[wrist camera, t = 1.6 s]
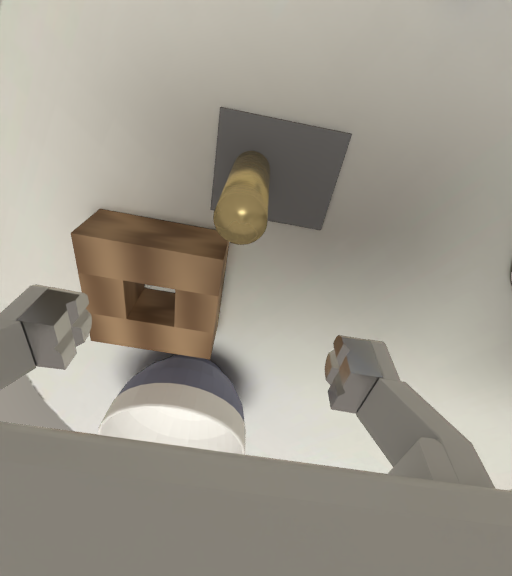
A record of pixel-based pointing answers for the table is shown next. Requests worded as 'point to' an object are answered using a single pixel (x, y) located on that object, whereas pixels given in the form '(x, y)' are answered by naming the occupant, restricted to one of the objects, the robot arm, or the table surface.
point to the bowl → (179, 407)
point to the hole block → (151, 282)
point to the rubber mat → (283, 163)
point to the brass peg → (244, 200)
